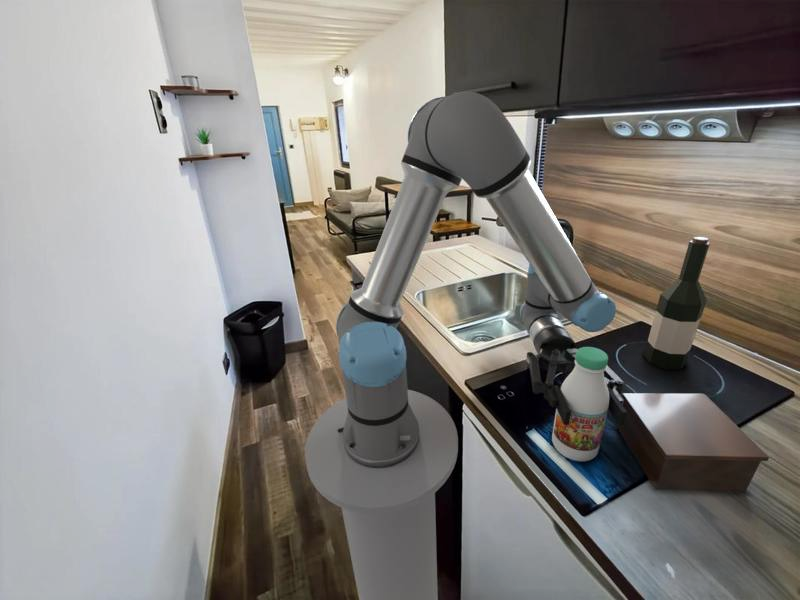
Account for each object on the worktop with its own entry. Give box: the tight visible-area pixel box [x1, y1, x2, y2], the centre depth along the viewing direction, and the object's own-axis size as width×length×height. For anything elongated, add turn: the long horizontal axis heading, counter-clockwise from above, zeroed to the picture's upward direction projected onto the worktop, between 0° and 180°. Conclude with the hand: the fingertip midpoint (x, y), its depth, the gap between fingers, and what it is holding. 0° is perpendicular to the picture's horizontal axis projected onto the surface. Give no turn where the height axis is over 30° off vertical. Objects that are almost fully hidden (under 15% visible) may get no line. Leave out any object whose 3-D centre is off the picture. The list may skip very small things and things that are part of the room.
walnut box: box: [616, 392, 770, 493], centre depth 61 cm, size 14×14×8 cm
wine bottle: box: [643, 236, 711, 370], centre depth 81 cm, size 8×8×30 cm
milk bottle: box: [551, 346, 609, 462], centre depth 62 cm, size 8×8×20 cm
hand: (595, 418), depth 57 cm, fingers closed on milk bottle, 8 cm apart
